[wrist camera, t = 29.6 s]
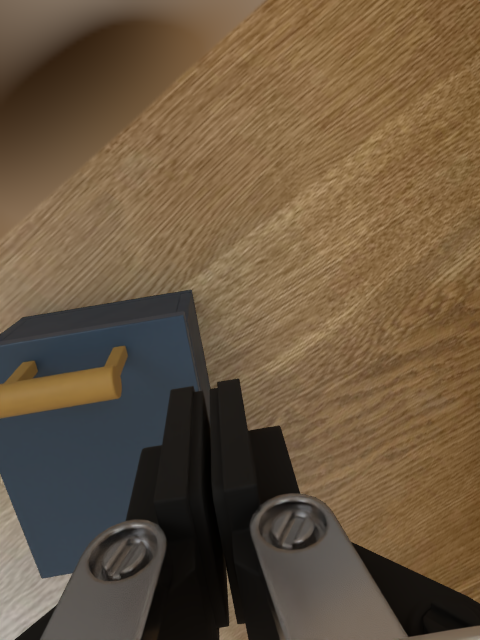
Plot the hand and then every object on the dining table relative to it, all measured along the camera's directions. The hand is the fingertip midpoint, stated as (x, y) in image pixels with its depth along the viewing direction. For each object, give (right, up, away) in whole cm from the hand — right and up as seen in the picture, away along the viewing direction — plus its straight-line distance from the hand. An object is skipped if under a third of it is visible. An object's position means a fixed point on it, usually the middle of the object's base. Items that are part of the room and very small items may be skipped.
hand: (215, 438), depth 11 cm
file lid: (-8, -5, +17) cm, 19 cm away
